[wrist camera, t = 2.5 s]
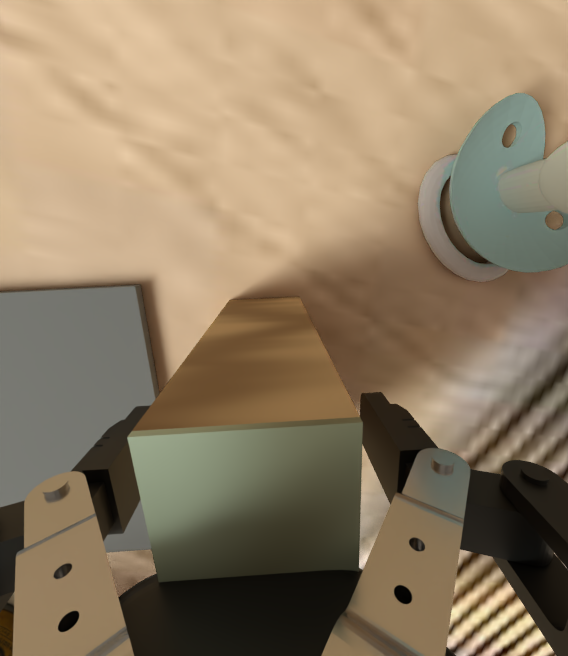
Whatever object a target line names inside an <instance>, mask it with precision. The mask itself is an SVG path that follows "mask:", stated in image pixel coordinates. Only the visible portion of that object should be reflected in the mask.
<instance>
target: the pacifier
mask: <svg viewBox="0 0 568 656" xmlns="http://www.w3.org/2000/svg"><path fill="white" fill-rule="evenodd" d="M510 124H513V125H514V126H515V127H516V137H515V140H514V142H513V143H512V144H511V146H510V147H508V148H506V147H504V146H503V144H502V137H503V134H504V131H505V130H506V128H507V127H508V126H509V125H510ZM544 148H545V125H544V119H543V115H542V111H541V109H540V107H539V105H538V103H537V101H536V100H535V99H534V98H533V97H532V96H530V95H527V94H525V93H516V94H513V95H510V96H508V97H506V98H504V99H503V100H501V101H500V102H498V103H496V104H495V105H494V106H492V107H491V108H490V109H489V110H488V111H487V112H486V113H485V114H484V115H483V116H482V117H481V118H480V119H479V120H478V122H477V123H476V124H475V125H474V127H473V128H472V130H471V131H470V133H469V134H468V136H467V137H466V139H465V141H464V143H463V144H462V146H461V148H460V150H459V152H458V154H453V155H447V156H445V157H443V158H441V159H440V160H438V161H436V162H435V163H434V164H433V165H432V166H431V168H430V169H429V170H428V171H427V172H426V174H425V177H424V179H423V181H422V184H421V186H420V192H419V199H418V211H419V221H420V224H421V227H422V231H423V234H424V237H425V239H426V241H427V242H428V244H429V246H430V248H431V250H432V252H433V253H434V254H435V255H436V257H437V258H438V259H439V260H440V261H441V263H442V264H443V265H444V266H446V267H447V268H448V269H449V270H451V271H452V272H453V273H454V274H456V275H458V276H460V277H462V278H465V279H467V280H471V281H477V282H485V281H492V280H494V279H496V278H498V277H500V276H502V275H504V274H505V273H506V272H507V271H508V270H513V271H519V272H526V273H527V272H540V271H547V270H552V269H556V268H559V267H562V266H564V265H567V264H568V141H567V142H565V143H564V144H562V145H561V146H559V147H558V148H557V149H556V150H555V151H554V152H553V153H552V154H551V155H550V156H549V157H548V158H546V159H543V156H544ZM450 176H451V179H450V188H449V194H450V205H451V210H452V214H453V217H454V221H455V223H456V225H457V227H458V229H459V231H460V233H461V235H462V236H463V238H464V239H465V240H466V242H467V243H468V244H469V245H470V247H471V248H472V249H474V250H475V251H476V252H477V253H478V254H479V255H481V256H482V257H483V258H484V259H486V260H488V262H486V263H476V262H474V261H472V260H470V259H468V258H466V257H465V256H464V255H463V254H462V253H460V252H459V251H458V250H457V249H456V248H455V246H454V245H453V244H452V242H451V241H450V240H449V238H448V236H447V234H446V232H445V230H444V227H443V223H442V220H441V215H440V196H441V191H442V189H443V186H444V184H445V182H446V181H447V179H448V178H449V177H450ZM552 211H556V212H558V213H560V214H561V215H562V216H563V224H562V226H561V227H560V228H559V229H556V230H553V229H550V228H549V227H548V226H547V225H546V223H545V218H546V216H547V215H548V214H549V213H550V212H552Z"/></svg>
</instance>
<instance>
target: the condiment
mask: <svg viewBox="0 0 568 656" xmlns="http://www.w3.org/2000/svg"><path fill="white" fill-rule="evenodd" d="M14 597H15V592H14V593H13V595H12V596H11V598H10V599H9V601H8V602H7V604H6V605H5V606H4V608H3V609H2V611H1V612H0V656H12V655H13V626H14Z"/></svg>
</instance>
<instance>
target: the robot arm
mask: <svg viewBox="0 0 568 656" xmlns="http://www.w3.org/2000/svg"><path fill="white" fill-rule="evenodd" d="M150 406H151V405H149V406H136V407H135V408H134V409H133V410H132V411H131V413H130V414H129V415H128V416H127V417H126V419H125V420H120V421H119V422H117V423H116V424H114V425H113V426H111V427H110V428H109V429H108V430H107V431H106V432H105V433H104V434H103V435H102V436H101V439H99V440H98V441H97V442H96V443H95V444H94V447H92V448H91V449H90V450H89V451H88V452H87V453H86V455H85V456H84V457H83V458H82V459H81V460H80V461H79V462H78V464H77V465H76V466H75V467H74V468H73V469H72V470H71V471H70V472H65V473H62V474H58V475H56V476H53V477H51V478H49V479H47V480H45V481H44V482H42V483H40V484H39V485H38V486H36V487H35V488H34V489H33V490H32V491H31V492H30V493H29V494H28V495H27V497H26V499H25V501H21V502H18V503H14V504H10V505H7V506H3V507H0V612H1V611H2V609H3V608H4V606H5V605H6V604H7V602H8V601H9V599H10V598H11V596H12V595H13V593H14V592H15V597H14V626H13V655H12V656H456V655H455V654H454V653H453V652H452V651H450V650H449V649H448V648H447V647H446V646H447V639H448V631H449V624H450V617H451V610H452V602H453V595H454V588H455V581H456V574H457V566H458V559H459V552H460V549H462V550H466V551H470V552H475V553H479V554H483V555H487V556H492V557H493V558H494V560H495V562H496V563H497V565H498V566H499V568H500V569H501V571H502V572H503V574H504V575H505V577H506V578H507V580H508V582H509V583H510V585H511V586H512V588H513V589H514V591H515V592H516V594H517V595H518V597H519V599H520V600H521V602H522V603H523V605H524V606H525V608H526V609H527V611H528V612H529V614H530V615H531V617H532V619H533V620H534V622H535V623H536V625H537V626H538V628H539V629H540V631H541V632H542V634H543V635H544V637H545V639H546V640H547V642H548V643H549V645H550V646H551V648H552V649H553V651H554V652H555V654H556V655H557V656H568V570H567V569H568V483H566V482H565V481H564V480H563V479H562V478H561V477H559V476H558V475H557V474H555V473H554V472H552V471H550V470H549V469H547V468H545V467H542V466H540V465H537V464H535V463H531V462H527V461H521V460H512V461H508V462H506V463H504V464H503V466H502V471H501V474H495V473H489V472H483V471H477V470H472V469H470V467H469V466H468V464H467V463H466V462H465V461H464V460H463V459H462V458H461V457H459V456H458V455H456V454H454V453H452V452H450V451H447V450H444V449H439V448H438V447H437V446H436V445H435V443H434V442H433V441H432V440H431V439H430V437H429V436H428V435H427V434H426V433H425V431H424V430H423V429H422V428H421V427H420V425H419V424H418V423H417V422H416V420H414V418H413V417H412V416H411V414H410V413H409V412H408V411H407V410H406V409H404V408H402V407H401V406H399V405H397V404H390V403H389V402H388V400H387V399H386V398H385V396H384V395H383V394H382V393H381V392H375V393H362V394H361V400H360V418H361V420H362V422H363V434H362V444H363V446H364V448H365V451H366V453H367V455H368V457H369V459H370V461H371V464H372V466H373V468H374V470H375V472H376V474H377V476H378V479H379V481H380V483H381V485H382V487H383V489H384V492H385V494H386V496H387V498H388V500H389V502H390V507H389V510H388V512H387V514H386V517H385V519H384V522H383V524H382V526H381V529H380V531H379V534H378V536H377V538H376V541H375V543H374V546H373V548H372V550H371V553H370V555H369V557H368V560H367V562H366V565H365V567H364V569H363V570H362V569H360V568H359V572H358V571H352V570H322V571H307V572H293V573H279V574H265V575H251V576H237V577H223V578H210V579H196V580H182V581H169V582H158V577H157V574H155V575H153V576H150V577H148V578H146V579H144V580H143V581H141V582H139V583H137V584H136V585H134V586H133V587H132V588H130V589H129V590H127V591H126V592H125V593H123V594H122V595H121V596H120V597H118V595H117V591H116V587H115V583H114V580H113V576H112V572H111V569H110V565H109V561H108V558H107V554H106V550H105V546H104V543H103V542H104V540H105V538H106V537H107V535H111V534H123V533H124V531H125V529H126V527H127V525H128V523H129V521H130V519H131V517H132V516H133V514H134V512H135V510H136V508H137V506H138V504H139V502H140V500H141V499H140V494H139V489H138V485H137V480H136V475H135V471H134V466H133V462H132V457H131V452H130V448H129V443H128V439H127V437H128V436H129V434H130V433H131V431H132V430H133V429H134V427H135V426H136V425H137V423H138V422H139V421H140V419H141V418H142V417H143V415H144V414H145V413H146V411H147V410H148V409H149V407H150ZM554 553H555V554H556V555H557V556H558V557H559V558H560V560H561V561H562V562H563V563H564V564H565V566H566V567H567V568H566V567H565V566H564V565H563V564H562V563H561V561H560V560H559V559H558V558H557V557H556V556H555V554H554Z"/></svg>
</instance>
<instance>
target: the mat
mask: <svg viewBox="0 0 568 656" xmlns="http://www.w3.org/2000/svg"><path fill="white" fill-rule="evenodd" d="M158 395H159V388H158V383H157V377H156V371H155V365H154V360H153V354H152V348H151V343H150V337H149V331H148V325H147V320H146V314H145V308H144V303H143V297H142V291H141V285H122V286H103V287H83V288H63V289H44V290H24V291H4V292H0V507H3V506H7V505H10V504H14V503H18V502H21V501H25V499H26V497H27V495H28V494H29V493H30V492H31V491H32V490H33V489H34V488H35V487H36V486H38V485H39V484H40V483H42V482H44V481H45V480H47V479H49V478H51V477H53V476H56V475H58V474H62V473H65V472H70V471H71V470H72V469H73V468H74V467H75V466H76V465H77V464H78V462H79V461H80V460H81V459H82V458H83V457H84V456H85V455H86V453H87V452H88V451H89V450H90V449H91V448H92V447H94V444H95V443H96V442H97V441H98V440H99V439H101V436H102V435H103V434H104V433H105V432H106V431H107V430H108V429H109V428H110V427H111V426H113V425H114V424H116V423H117V422H119V421H120V420H125V419H126V417H127V416H128V415H129V414H130V413H131V411H132V410H133V409H134V408H135V407H136V406H149V405H152V403H153V402H154V401H155V399H156V398H157V397H158ZM103 543H104V546H105V550H106V552H120V551H134V550H148V549H151V545H150V540H149V535H148V531H147V526H146V522H145V517H144V512H143V508H142V503H141V500H140V502H139V504H138V506H137V508H136V510H135V512H134V514H133V516H132V517H131V519H130V521H129V523H128V525H127V527H126V529H125V531H124V533H123V534H111V535H107V537H106V538H105V540H104V542H103Z"/></svg>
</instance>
